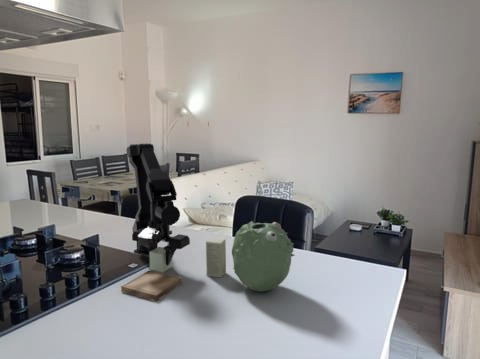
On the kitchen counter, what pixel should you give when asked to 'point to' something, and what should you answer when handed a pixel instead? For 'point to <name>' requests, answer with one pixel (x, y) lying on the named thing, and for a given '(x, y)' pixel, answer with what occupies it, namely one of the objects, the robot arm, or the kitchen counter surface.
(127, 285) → the plinth
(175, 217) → the robot arm
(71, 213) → the kitchen counter surface
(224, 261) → the box
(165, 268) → the block
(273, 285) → the green bumpy vase
